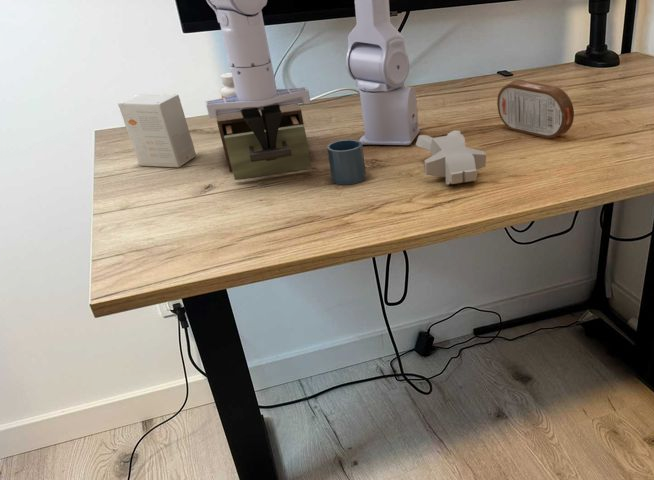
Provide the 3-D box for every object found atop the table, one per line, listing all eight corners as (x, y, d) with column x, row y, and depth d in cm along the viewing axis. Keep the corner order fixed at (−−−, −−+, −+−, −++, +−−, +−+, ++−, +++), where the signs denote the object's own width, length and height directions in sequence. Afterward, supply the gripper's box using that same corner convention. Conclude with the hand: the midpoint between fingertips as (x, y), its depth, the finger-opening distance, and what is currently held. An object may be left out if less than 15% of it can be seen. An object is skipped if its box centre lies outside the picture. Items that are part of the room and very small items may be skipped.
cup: (370, 172, 104) (366, 139, 101) (360, 185, 99) (355, 151, 96) (338, 171, 105) (333, 139, 102) (327, 184, 100) (321, 151, 97)
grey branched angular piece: (432, 166, 93) (408, 124, 104) (433, 198, 96) (410, 154, 107) (495, 157, 95) (465, 117, 105) (494, 189, 98) (465, 147, 109)
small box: (197, 156, 114) (180, 94, 107) (179, 168, 109) (159, 103, 103) (157, 154, 115) (138, 93, 109) (138, 166, 111) (116, 102, 105)
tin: (573, 139, 112) (576, 87, 107) (562, 144, 110) (565, 92, 105) (505, 123, 120) (505, 75, 116) (494, 128, 119) (494, 79, 114)
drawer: (316, 178, 100) (309, 135, 97) (237, 191, 98) (226, 147, 94) (300, 144, 114) (293, 106, 110) (230, 155, 111) (220, 116, 107)
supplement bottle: (250, 131, 124) (238, 78, 118) (224, 131, 125) (211, 78, 119) (262, 123, 128) (251, 70, 122) (237, 122, 129) (225, 70, 123)
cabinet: (310, 159, 110) (301, 109, 105) (229, 172, 107) (216, 121, 102) (298, 136, 120) (290, 90, 115) (225, 147, 117) (213, 100, 112)
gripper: (296, 51, 96) (312, 142, 104) (195, 64, 92) (219, 158, 100) (306, 60, 91) (321, 156, 99) (198, 74, 87) (223, 173, 95)
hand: (270, 158), depth 99 cm, fingers closed, pressing on drawer
